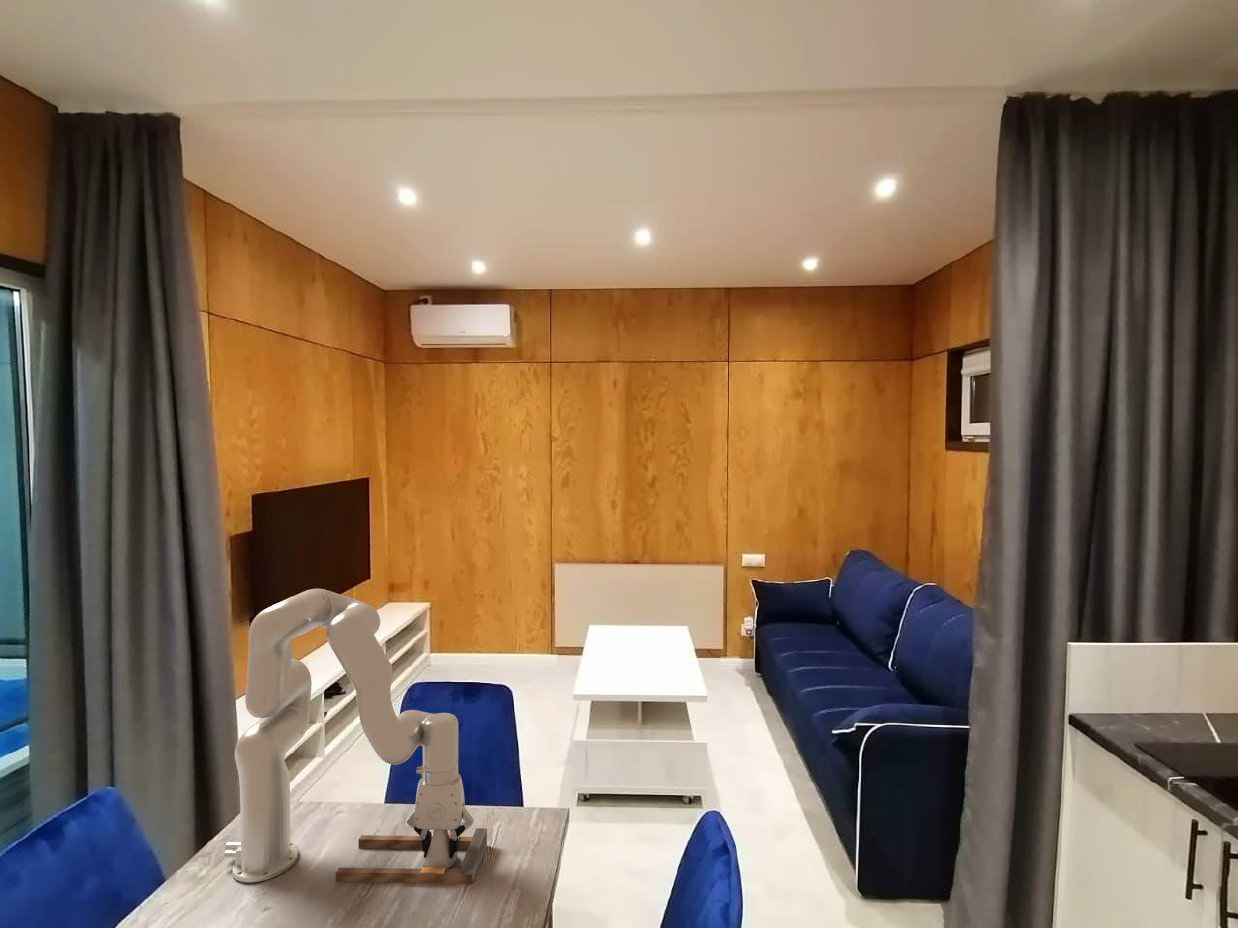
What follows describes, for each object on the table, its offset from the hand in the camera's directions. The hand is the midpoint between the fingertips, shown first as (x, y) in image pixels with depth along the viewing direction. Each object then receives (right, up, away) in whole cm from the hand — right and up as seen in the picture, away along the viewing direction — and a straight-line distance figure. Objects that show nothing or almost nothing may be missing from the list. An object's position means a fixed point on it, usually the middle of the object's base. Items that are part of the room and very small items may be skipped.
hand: (440, 853), depth 135 cm
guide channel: (-6, -2, 0) cm, 6 cm away
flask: (0, -2, 0) cm, 2 cm away
